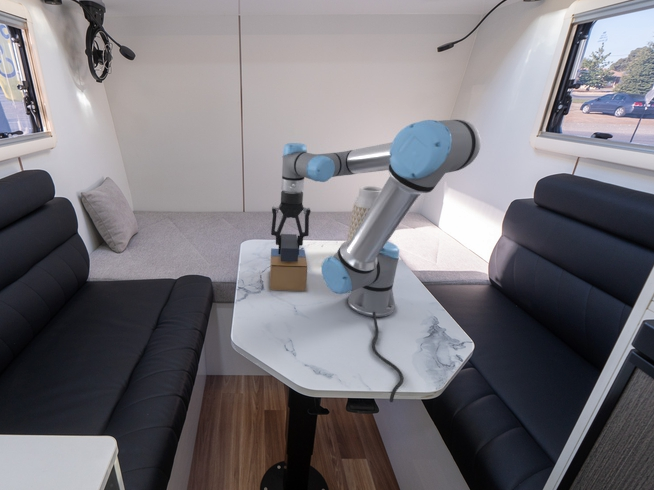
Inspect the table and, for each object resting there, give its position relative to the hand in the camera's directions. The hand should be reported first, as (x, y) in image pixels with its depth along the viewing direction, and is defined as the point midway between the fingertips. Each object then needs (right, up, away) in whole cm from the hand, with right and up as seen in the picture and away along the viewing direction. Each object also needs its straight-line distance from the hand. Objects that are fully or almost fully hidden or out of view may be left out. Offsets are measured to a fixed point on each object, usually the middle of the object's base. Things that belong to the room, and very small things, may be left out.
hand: (288, 252), depth 137 cm
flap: (0, 0, +4) cm, 4 cm away
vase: (+34, -1, +26) cm, 43 cm away
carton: (0, -11, +5) cm, 12 cm away
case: (0, 0, 0) cm, 0 cm away
